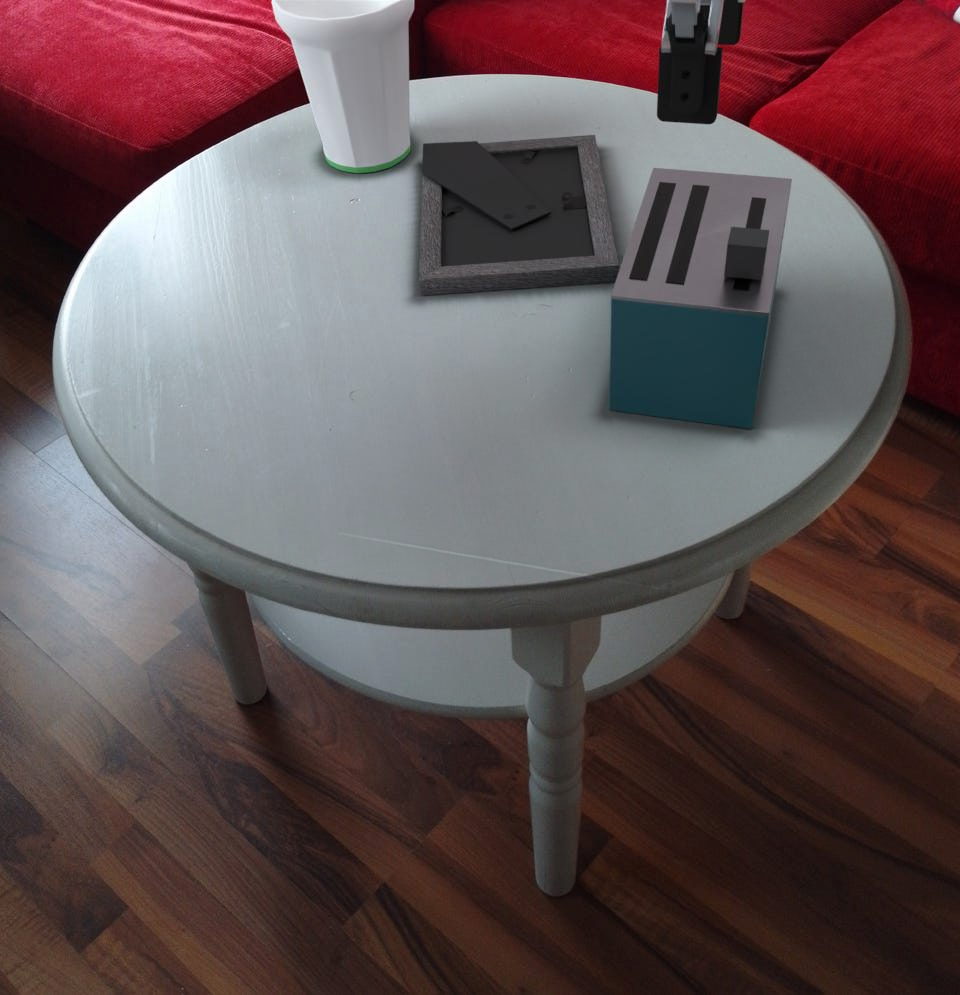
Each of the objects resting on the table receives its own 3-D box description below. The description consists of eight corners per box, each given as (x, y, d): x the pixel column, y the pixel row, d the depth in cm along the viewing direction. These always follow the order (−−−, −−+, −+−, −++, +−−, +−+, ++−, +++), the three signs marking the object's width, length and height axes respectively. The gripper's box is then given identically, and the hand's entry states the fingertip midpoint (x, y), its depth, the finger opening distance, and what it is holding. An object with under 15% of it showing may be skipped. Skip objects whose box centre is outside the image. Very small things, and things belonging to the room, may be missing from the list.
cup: (355, 109, 111) (330, -48, 100) (456, 135, 106) (441, -27, 95) (277, 166, 105) (241, 5, 94) (382, 197, 99) (356, 30, 88)
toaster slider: (764, 262, 71) (769, 229, 69) (761, 280, 70) (766, 247, 68) (727, 259, 72) (731, 226, 70) (723, 276, 71) (727, 243, 69)
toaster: (774, 292, 86) (792, 177, 78) (751, 429, 75) (769, 311, 68) (648, 279, 88) (653, 166, 81) (608, 410, 78) (610, 294, 70)
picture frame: (425, 162, 103) (421, 295, 89) (423, 143, 102) (418, 275, 87) (594, 150, 103) (618, 281, 88) (594, 130, 101) (618, 260, 87)
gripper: (790, -230, 44) (748, 160, 56) (823, -324, 55) (782, 18, 67) (605, -227, 46) (604, 150, 58) (674, -318, 57) (661, 13, 69)
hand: (700, 79), depth 63 cm, fingers open, 9 cm apart
